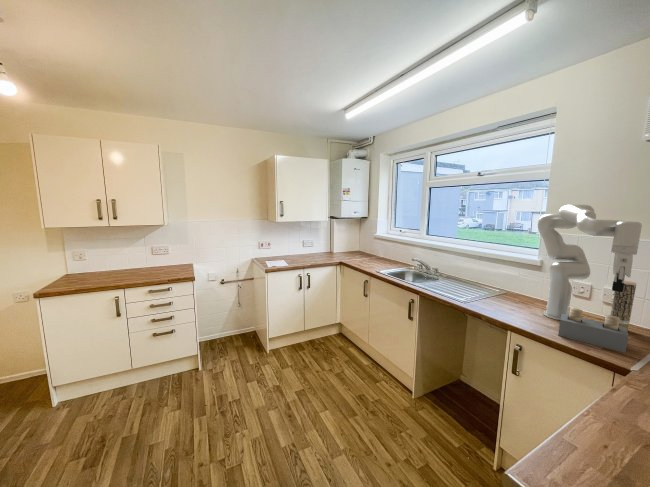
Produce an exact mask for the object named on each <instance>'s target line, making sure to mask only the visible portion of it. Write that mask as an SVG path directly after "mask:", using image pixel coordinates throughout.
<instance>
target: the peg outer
mask: <svg viewBox="0 0 650 487" xmlns="http://www.w3.org/2000/svg"><path fill="white" fill-rule="evenodd" d="M619 321H620V318H619V317H616V316H612V315H611V314H606V315H605V318H604V328H607V329H612V330H616V331H618V326H619Z"/></svg>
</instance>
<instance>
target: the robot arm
mask: <svg viewBox="0 0 650 487" xmlns="http://www.w3.org/2000/svg"><path fill="white" fill-rule="evenodd" d="M576 227H577V229H578V230H579V231H580V232H583V233H584V234H587V235H589V236H593V237H612V246H611V253H614V256H613V263H612V264H613V265H612V266H613V267H612V273H613V275H614V278H613V281H612V287H611V291H612V292H615V291H617V292H623V288H624V280H625V279H626V277H627V278H631V276H632V275H631V274H632V268H633V261H634V260H633V259H634V256H636V255H638V249H639V245H640V244H639V243H640V238H641V233H642V227H643V225H642V222H639V221H631V220H629V221H625V220H620V219H616V220H615V219H597V214H596V213H595V209H594V207H592V206H591V205H589V204H579V203H578V204H573V203H571V204H566V205H563V206H561V207H560V209H559V210H558V213H547V214H543V215H541V216H540V217H539V218H538V221H537V229H538V232H539V234H540V236H541V237H542V240H543V242H544V246H545V249H546V252H547V256H548V257H549V259H551V260H552V261H555V262H553V263H552V264H550V266H549V279H550V280H549V289H548V296H547V302H546V303H547V304H546V305H545V308H546V310H542V315H543V316H545V317H547V318H550V319H554V320H556V321H560V319H561V315H562V314H567V315H569V313H570V307H571V306H570V305H571V299H572V293H573V292H572V291H573V287H572V283H571V282H570V280H578V281H579V280H581V281H582V280H586V279H588V278H589V277H590V275H591V268H590V265H589V262H588V259H587V257H586V254H585V251H584V249H582V248H583V247H581V246H580V245H576V244H569V243H568V244H567V243H566V242H564V238H563V236H562V235H561V234H560V233H559V232H558V231H557V230H556V229H560V230H561V229H566V230H567V229H569V230H570V229H574V228H576Z"/></svg>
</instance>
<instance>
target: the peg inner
mask: <svg viewBox="0 0 650 487" xmlns="http://www.w3.org/2000/svg"><path fill="white" fill-rule="evenodd" d="M568 315H569V320H572V321H577V322H581V318H583V310H582V309H580V308H577V307H569V313H568Z"/></svg>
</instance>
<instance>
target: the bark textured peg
mask: <svg viewBox="0 0 650 487" xmlns="http://www.w3.org/2000/svg"><path fill="white" fill-rule="evenodd" d="M636 288H637V282H634V281H629V280H625V279H624V288H623V292H617V291H613V298H612V299H613V300H612V305H611V309H610V315H612V316H616V317H619V318H620V321H619V326H622V327H626V329H627V332H628V331H629V327H630V322H631V316H632V311H633V305H634V304H633V303H634V300H635V294H636Z"/></svg>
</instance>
